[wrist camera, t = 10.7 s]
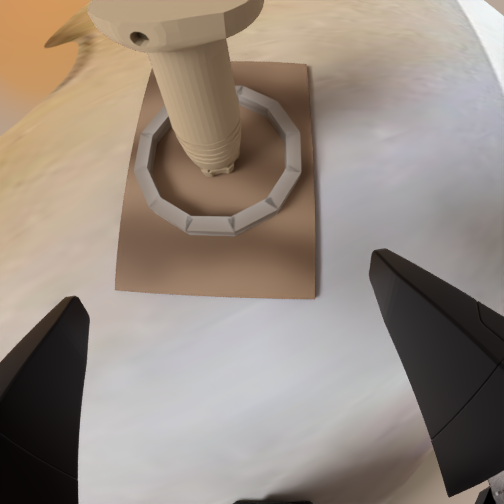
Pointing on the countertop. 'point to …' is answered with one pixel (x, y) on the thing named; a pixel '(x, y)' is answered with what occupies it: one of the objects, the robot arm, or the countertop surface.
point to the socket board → (225, 199)
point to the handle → (188, 66)
